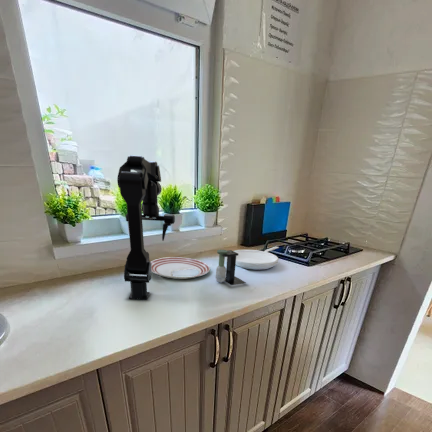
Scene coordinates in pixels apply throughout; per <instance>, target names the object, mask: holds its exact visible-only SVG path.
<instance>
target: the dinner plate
mask: <svg viewBox="0 0 432 432" xmlns="http://www.w3.org/2000/svg"><path fill="white" fill-rule="evenodd" d="M150 262H151V273H153V274H155V275H157V276H160V277H163V278H168V279H172V280H173V279H174V280H187V279H188V280H189V279H195V278H198V277H199V278H200V277H201V276H204V275H207V274H208V273H210V271H211V267H210V265H209V264H207V263H206V262H204V261H202V260H198V259H195V258H190V257H181V256H167V257H166V256H165V257H160V258H156V259H153V260H150ZM188 270H195V271H197V272H198V273H197V274H195V275H193V276H173V275H174V274H173V272H179V271H188Z"/></svg>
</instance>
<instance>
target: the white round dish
mask: <svg viewBox="0 0 432 432" xmlns="http://www.w3.org/2000/svg"><path fill="white" fill-rule="evenodd" d="M279 248H280V247H279V246H273V247H270V248H267V249H264V250H258V249H236V250H233V251H234V252H236V253H238V256H236V265H235V267H236V266H237V267H238V268H239V267H240V268H241V269H245V270H247V269H248V270H257V271H261V270H268V269H271V268H273V267H275V266H276V265H277V264H278V263H279V257H278V256H277V255H276V254H273V253H271V251H274V250H277V249H279Z"/></svg>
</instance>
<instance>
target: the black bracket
mask: <svg viewBox="0 0 432 432" xmlns="http://www.w3.org/2000/svg"><path fill="white" fill-rule="evenodd" d="M226 250H227V254H223V256H224V257H225V258H226V266H225V268H226V278H225V281H224V283H227V284H228V285H230V286H236V285H242V284H247V282H246V281H244V280H242V279H240V278H239V277H237V276H235V274H236V256H238V253H236V252H234V251H235V250H232V249H226Z"/></svg>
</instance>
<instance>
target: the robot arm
mask: <svg viewBox="0 0 432 432" xmlns="http://www.w3.org/2000/svg"><path fill="white" fill-rule="evenodd" d="M161 176H162V175H161V170H160V165H159V164H158V162H157V161H151V160H149V161H148V159H145V157H144V156H142V155H133V154H132V155H131V154H130V155H127V158H126V161H125V162H124V163H123V164H122V165H121V166H119V169H118V173H117V178H116V179H117V180H116V181H117V186H118V187H117V188H119V192H120V196H121V197H122V199H123V200H124V202H125V204H126V211H127V213H126V214H125V222H127V224H128V234H129V235H128V236H129V247H130V250H129V252H128V254H127V256H126V261H125V264H124V270H123V279H124V282H129V283H130V284H129V285H130V295H129V296H128V300H142V301H143V300H144V301H146V300H148V299H149V296H150V294H151V293H150V291H148V283H150V281H151V280H152V272H151V259H150V254H149V252H148V251H147V250H146V249H145V241H144V228H143V221H155V222H157V221H158V222H163V224H162V234H161V235H162V236H161V239H162V242H164V241H165V237H166V233H167V231H168V228H169V227H171V226H172V225H174V224H175V222H176V216H175V214H174V213H164V214H163V215H160V207H159V205H158V204H159V203H158V196H160V195H161V193H162V191H163V189H162V185H161V184H160V183H161V182H162V177H161Z"/></svg>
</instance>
